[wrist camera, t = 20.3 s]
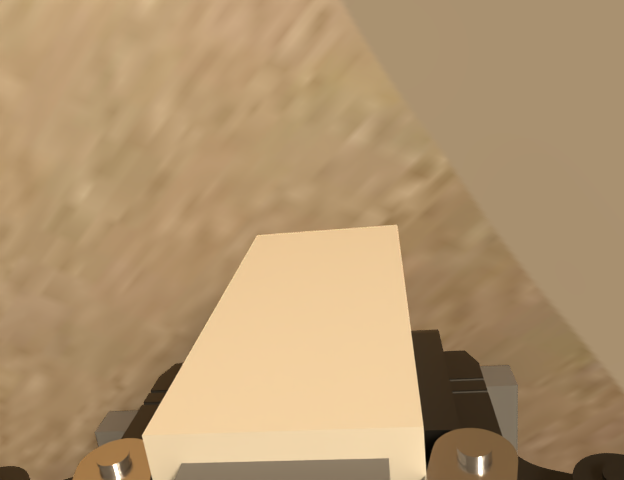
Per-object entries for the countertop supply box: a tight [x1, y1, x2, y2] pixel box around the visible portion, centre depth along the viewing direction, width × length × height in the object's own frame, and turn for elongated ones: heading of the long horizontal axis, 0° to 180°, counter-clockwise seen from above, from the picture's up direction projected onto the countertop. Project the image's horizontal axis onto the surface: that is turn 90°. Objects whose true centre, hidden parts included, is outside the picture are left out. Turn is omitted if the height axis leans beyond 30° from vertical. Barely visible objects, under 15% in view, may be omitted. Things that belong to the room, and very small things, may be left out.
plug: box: [142, 225, 426, 480], centre depth 12 cm, size 4×4×11 cm
